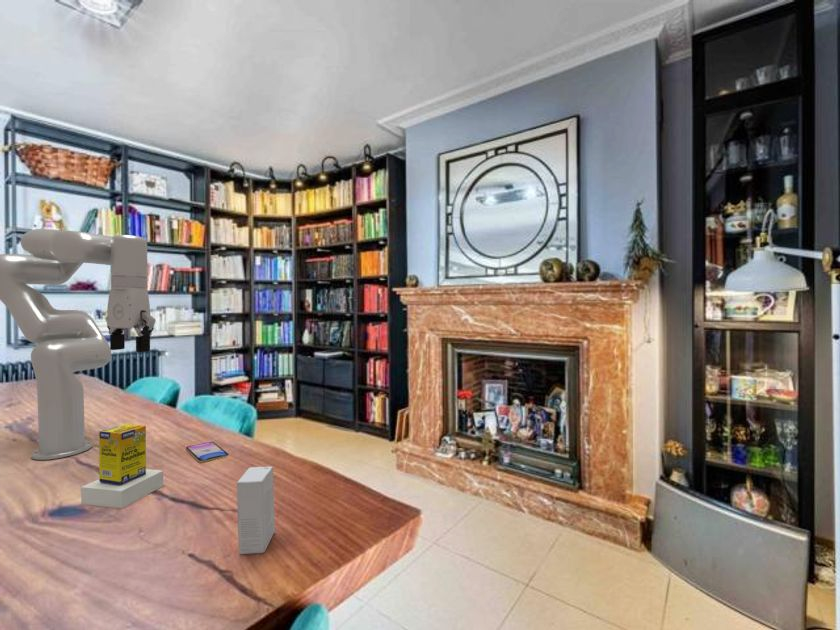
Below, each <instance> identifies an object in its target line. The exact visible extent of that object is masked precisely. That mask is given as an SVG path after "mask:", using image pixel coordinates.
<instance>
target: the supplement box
mask: <svg viewBox="0 0 840 630" xmlns="http://www.w3.org/2000/svg"><path fill="white" fill-rule="evenodd" d="M98 431H99V432H98V436H99V438H98V441H99V444H98V449H99V450H98V452H99V455H98V456H99V457H98V461H99V462H98V463H99V465H98V469H99V471H98V474H99V478H98V479H99V482H103V483H109V484H115V485H122V484H124V483H126V482H128V481H130V480H133V479H135V478H137V477H140V476H143V475H145V474H146V469H147V438H146V437H147V436H146V435H147V425H144V424H137V423H136V424H134V423H123V424H121V425H118V426H113V427H110V428H106V429H101V430H98Z"/></svg>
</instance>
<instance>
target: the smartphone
mask: <svg viewBox="0 0 840 630" xmlns="http://www.w3.org/2000/svg"><path fill="white" fill-rule="evenodd" d="M185 450H186V452H187V453H188V454H189V455H190V456H192V458H193V459H194V460H195V461H196V462H197V463H198V464H205V463H208V462H212V461H216V459H217V460H220V458H221V459H224V458H223V457H225V458H227V457H226V456H228V455H229V453H228V452H227V451H226V450H224V449H223V448H222V447H221V446H219V445H218V444H217V443H215V441H209V442H202V443H198V444H197V443H196V444H193V445H188V446H186V447H185ZM229 456H230V455H229ZM229 456H228V457H229Z"/></svg>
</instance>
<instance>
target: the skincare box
mask: <svg viewBox="0 0 840 630" xmlns="http://www.w3.org/2000/svg"><path fill="white" fill-rule="evenodd" d="M274 493H275V489H274V466H253V467H251V466H250V467H248V469H247V470H246V471H245V472H244V473H243V475H241V477H240V478H239V480H238V481H237V482H236V496H237V497H236V501H237V503H236V504H237V506H236V507H237V536H238V537H237V538H238V555H246V554H247V555H249V554H264V553H265V552H266V551H267V548H268V546H269V544H270V542H271V539H272V538H273V536H274V533H275V500H274V499H275V497H274V496H275V495H274Z"/></svg>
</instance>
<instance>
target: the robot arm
mask: <svg viewBox="0 0 840 630" xmlns="http://www.w3.org/2000/svg"><path fill="white" fill-rule="evenodd" d="M20 245H21V248H22V249H23V250H24V252H26V253H27V254H23V253H20V254H19V253H2V254H0V302H2V303H3V304H4V306H5V307H6V308H7V309H8V311H9V312H10V315H11V316H12V318H13V320H14V321H15V322H16V323H15V324H16V325H17V326H18V328H19V330H20V332H21V333H22V334H23V336H24V337H25V338H26V340H27V341H28V342H30V343H33V344H36V345H35V346H34V347H33V348H32V349H31V351H30V352H31V353H30V363H31V365H32V368H33V373H34V377H35V382H36V394H37V395H36V396H37V424H38V425H37V427H38V438H36V443H38V448H37V449H35V450H33V451H32V452H31V454H30V455H31V459H33V460H37V461H44V460H45V461H47V460H48V461H49V460H55V459H57V460H58V459H61V458H67V457H70V456H75V455H78V454H80V453H83V452H86V451H88V450H90V449H91V448H92V447H93V442H92V441H90V440H87V439H86V433H85V431H86V429H85V428H86V427H85V400H84V399H85V396H84V386H83V384H82V382H81V381H80V380H79V378H77V376H76V375H75V374H74V373H75V372H82V371H87V370H89V371H90V370H95V369H100V368H102V367H105V366H106V365H108V364H109V363H110V361H111V359H112V351H117V350H118V351H119V350H124V349H125V348H126V346H125V343H126V342H125V339H126V338H125V336H126V335H125V333H124V332H125V330H129V329H134V332H136V334H137V336H135V352H136V353H145V352H146V353H147V352H150V351H151V336H152V335H153V333H152V332H153V330H154V329H155V328H154V326H155V324H156V322H157V321H156V319H155V318H154V317H153V316H152V315H151V308H150V307H151V306H150V305H151V304H150V297H149V292H148V287H149V286H148V242H147V240H146V239H145V237H143V236H139V235H131V234H116V235H113V236H110V235H105V234H99V233H91V232H86V231H77V230H65V229H62V230H61V229H48V228H36V229H31V230H29V231H26V232H25V233H24V234H23V235H22V236H21V238H20ZM84 263H85V264H96V265H106V266H110V287H111V288H110V290H109V294H108V295H109V296H108V298H107V299H108V301H107V311H106V312H107V314H106V317H105V321H106V327H107V330H108V334H109V338H110V339H109V342H108V341H107V339H106V337H105V335H104V334H103V333H102V331H101V329H100V328H99V326H98V325H97V323H96V321H95V320H94V319H93V317H92V316H90V314H88V313H87V312H85V311H83V310H78V309H77V310H76V309H56V308H54V307H53V306H52V304H51V303H50V301H49V300H48V298H47V297H46V296H45V295H44V294H42V293H41V292H40V291H38V290H37V289H35V288H33V287H32V286H30V285H42V286H43V285H45V286H47V285H48V286H58V285H63V284H65V283H67V282H68V281H69V280H70V279H71V278H72V277H73V275H74V274H75V273H76V272H77V271H78V270H79V268H81V267H82V265H83V264H84ZM109 343H110V344H109Z"/></svg>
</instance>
